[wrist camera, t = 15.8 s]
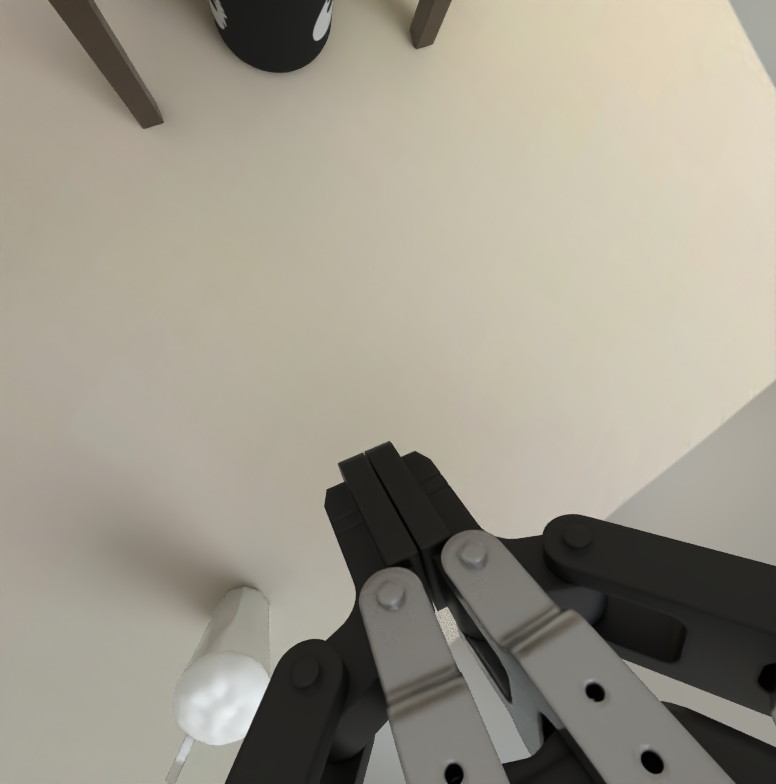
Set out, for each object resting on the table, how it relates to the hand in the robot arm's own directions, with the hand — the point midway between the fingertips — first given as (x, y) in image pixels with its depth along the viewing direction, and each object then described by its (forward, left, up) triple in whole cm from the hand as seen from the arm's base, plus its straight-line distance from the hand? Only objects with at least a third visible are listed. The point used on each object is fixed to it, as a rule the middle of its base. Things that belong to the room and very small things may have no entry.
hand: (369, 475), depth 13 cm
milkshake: (0, -15, -19) cm, 24 cm away
